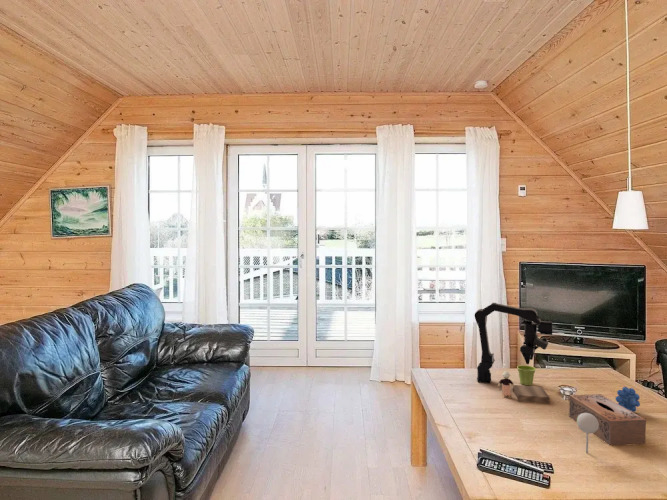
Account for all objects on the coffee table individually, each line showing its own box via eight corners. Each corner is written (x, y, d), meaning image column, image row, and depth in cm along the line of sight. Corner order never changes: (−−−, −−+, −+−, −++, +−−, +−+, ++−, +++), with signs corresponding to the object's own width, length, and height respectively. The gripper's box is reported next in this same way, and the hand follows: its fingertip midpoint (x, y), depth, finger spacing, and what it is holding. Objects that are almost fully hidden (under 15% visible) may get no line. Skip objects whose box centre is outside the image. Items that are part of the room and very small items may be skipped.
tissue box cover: (645, 444, 167) (645, 419, 166) (609, 446, 166) (610, 421, 165) (599, 415, 192) (600, 394, 192) (569, 417, 191) (569, 395, 191)
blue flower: (623, 417, 190) (623, 390, 189) (611, 411, 197) (612, 385, 196) (647, 415, 191) (647, 389, 191) (634, 409, 198) (635, 384, 197)
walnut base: (518, 401, 209) (518, 395, 208) (512, 390, 222) (512, 384, 222) (549, 403, 206) (549, 397, 205) (541, 392, 219) (541, 386, 219)
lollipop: (578, 446, 166) (578, 408, 165) (599, 451, 161) (600, 412, 160) (574, 453, 160) (575, 414, 159) (596, 459, 156) (597, 419, 155)
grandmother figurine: (511, 394, 217) (511, 370, 216) (515, 397, 213) (515, 372, 212) (496, 395, 216) (496, 370, 216) (499, 398, 212) (500, 373, 212)
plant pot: (512, 382, 234) (513, 366, 234) (525, 379, 238) (525, 364, 238) (527, 387, 226) (527, 371, 225) (539, 385, 230) (539, 369, 229)
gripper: (544, 338, 212) (543, 369, 213) (550, 331, 228) (549, 360, 228) (520, 335, 219) (519, 365, 220) (527, 328, 234) (526, 356, 235)
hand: (529, 361), depth 225 cm, fingers open, 9 cm apart
